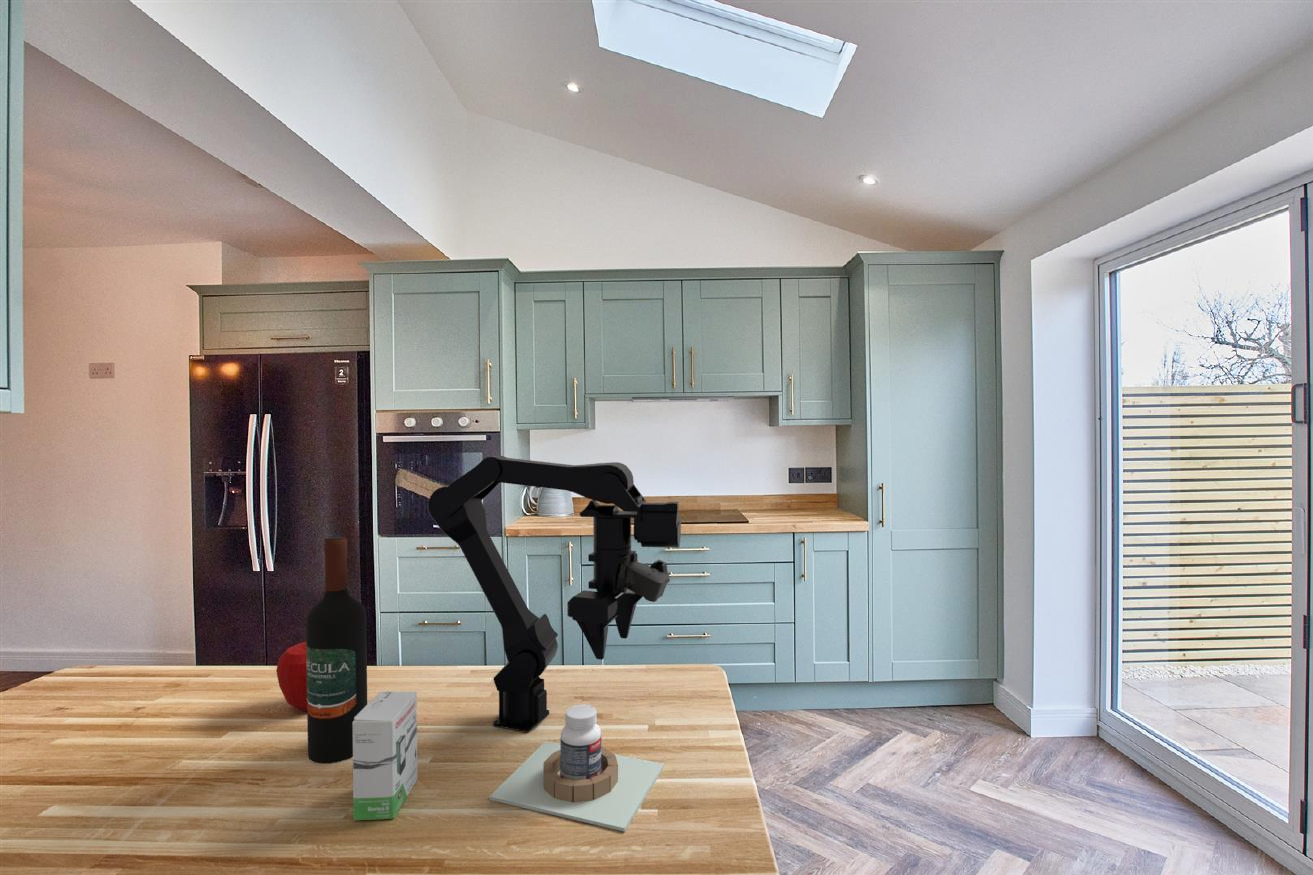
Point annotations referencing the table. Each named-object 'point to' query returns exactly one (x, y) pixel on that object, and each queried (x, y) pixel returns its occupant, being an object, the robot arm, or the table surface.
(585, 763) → the pill bottle
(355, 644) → the wine bottle
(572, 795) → the collar board
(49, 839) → the table surface
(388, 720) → the ink box
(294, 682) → the apple
